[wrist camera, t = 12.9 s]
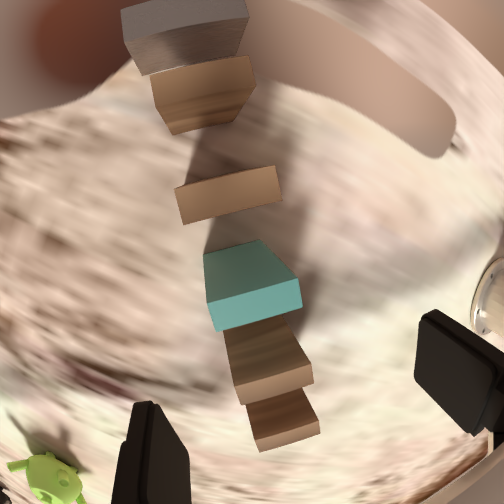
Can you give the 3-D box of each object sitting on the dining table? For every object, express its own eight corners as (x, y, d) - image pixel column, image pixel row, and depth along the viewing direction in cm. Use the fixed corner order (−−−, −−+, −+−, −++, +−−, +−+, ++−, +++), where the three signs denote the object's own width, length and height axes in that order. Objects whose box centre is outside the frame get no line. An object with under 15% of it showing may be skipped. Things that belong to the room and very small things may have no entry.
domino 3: (202, 254, 25) (206, 303, 15) (260, 239, 25) (298, 278, 16) (208, 274, 25) (216, 332, 16) (264, 259, 26) (303, 307, 16)
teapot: (42, 474, 29) (32, 508, 21) (15, 434, 26) (-2, 471, 18) (97, 488, 31) (91, 526, 23) (75, 450, 28) (63, 494, 20)
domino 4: (220, 316, 26) (234, 386, 17) (273, 301, 27) (311, 363, 17) (225, 332, 27) (241, 405, 17) (276, 318, 27) (314, 383, 18)
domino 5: (236, 366, 28) (254, 440, 19) (284, 352, 29) (318, 420, 19) (240, 379, 29) (259, 452, 19) (286, 365, 29) (320, 433, 20)
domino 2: (184, 184, 23) (174, 189, 14) (244, 169, 24) (274, 165, 14) (189, 205, 24) (183, 225, 14) (248, 190, 24) (282, 200, 15)
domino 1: (168, 115, 21) (149, 75, 12) (228, 101, 22) (248, 55, 12) (172, 135, 22) (155, 107, 12) (232, 121, 22) (256, 85, 13)
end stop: (228, 28, 20) (239, -15, 13) (235, 55, 21) (249, 17, 14) (137, 47, 19) (120, 9, 12) (142, 75, 20) (124, 42, 13)
